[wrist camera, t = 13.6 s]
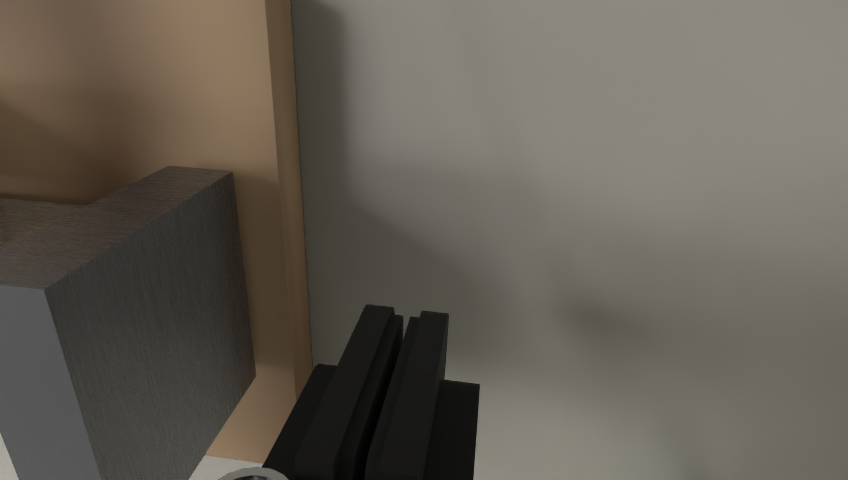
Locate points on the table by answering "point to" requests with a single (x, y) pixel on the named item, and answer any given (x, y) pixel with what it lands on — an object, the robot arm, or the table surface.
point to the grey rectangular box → (123, 328)
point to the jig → (173, 146)
